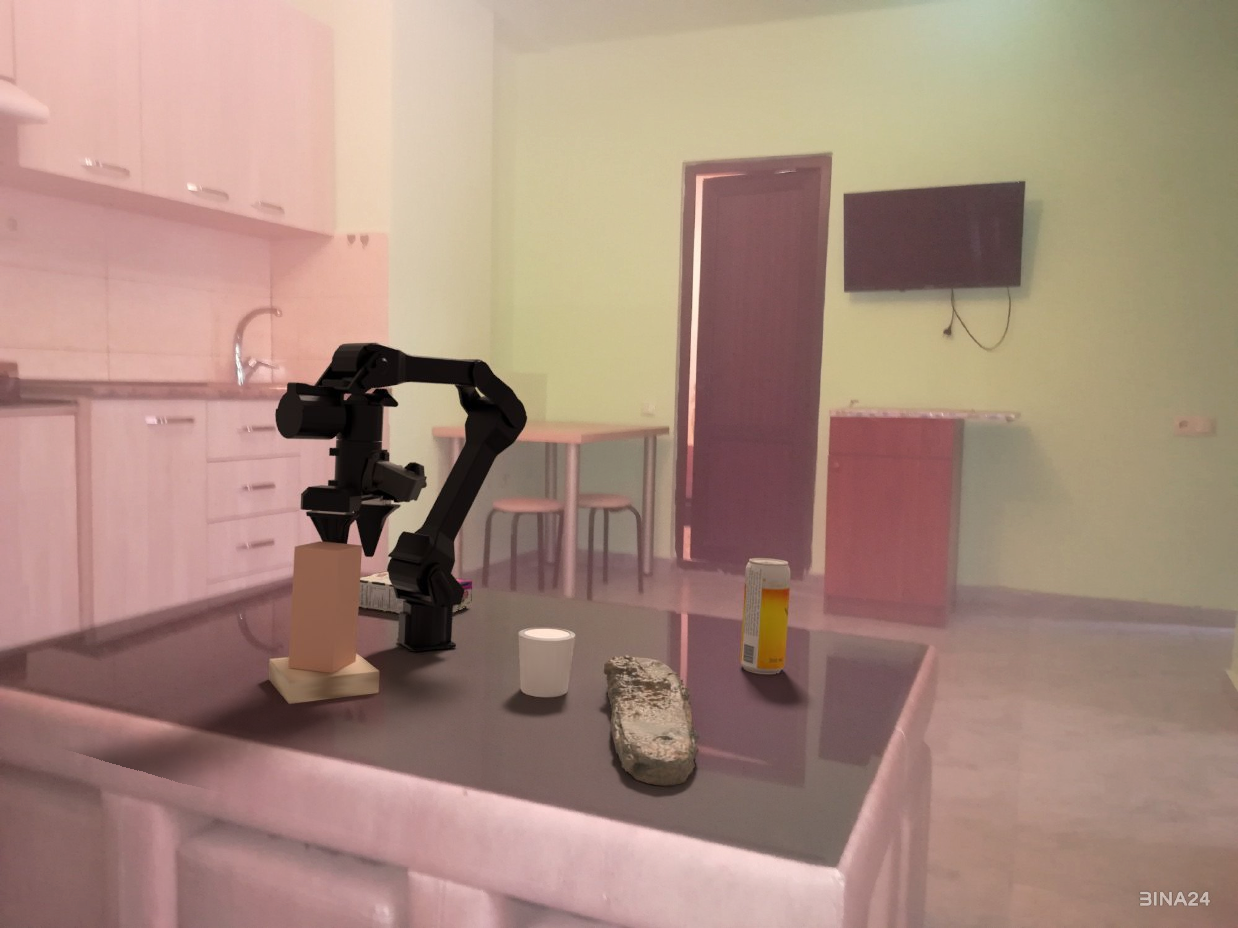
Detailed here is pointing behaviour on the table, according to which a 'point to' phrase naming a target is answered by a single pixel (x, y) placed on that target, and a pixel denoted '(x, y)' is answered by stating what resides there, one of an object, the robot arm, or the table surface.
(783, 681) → the table surface
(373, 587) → the candy bar box
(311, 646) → the terracotta post
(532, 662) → the white cup
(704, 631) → the table surface
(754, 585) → the beer can
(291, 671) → the birch block
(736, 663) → the table surface
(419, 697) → the table surface
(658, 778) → the elongated rock
